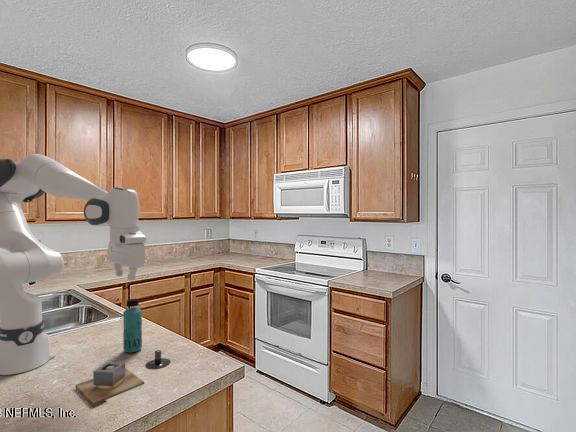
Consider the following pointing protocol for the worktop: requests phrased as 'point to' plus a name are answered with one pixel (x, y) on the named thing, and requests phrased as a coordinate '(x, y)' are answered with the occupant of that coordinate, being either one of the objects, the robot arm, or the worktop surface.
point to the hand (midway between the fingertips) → (125, 277)
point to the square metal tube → (108, 374)
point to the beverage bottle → (132, 327)
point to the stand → (157, 361)
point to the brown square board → (107, 388)
